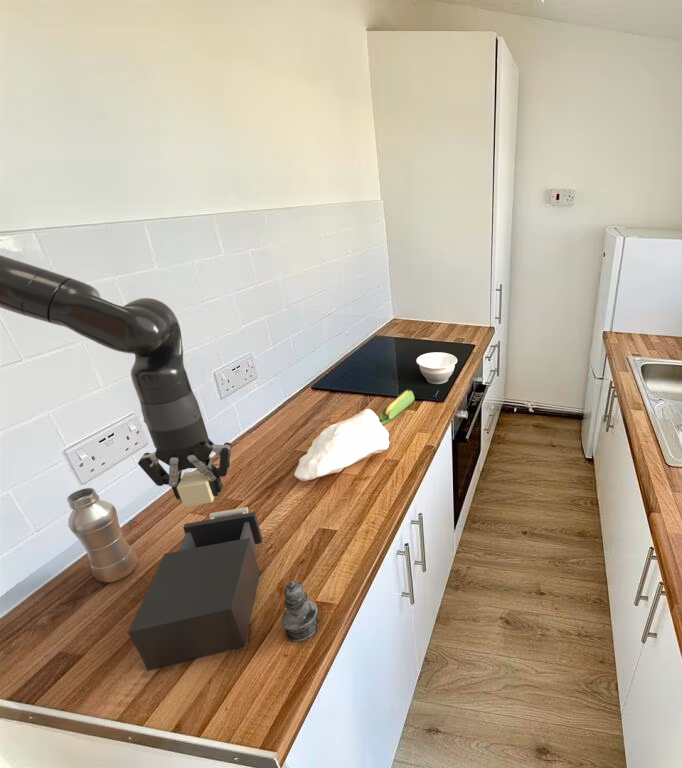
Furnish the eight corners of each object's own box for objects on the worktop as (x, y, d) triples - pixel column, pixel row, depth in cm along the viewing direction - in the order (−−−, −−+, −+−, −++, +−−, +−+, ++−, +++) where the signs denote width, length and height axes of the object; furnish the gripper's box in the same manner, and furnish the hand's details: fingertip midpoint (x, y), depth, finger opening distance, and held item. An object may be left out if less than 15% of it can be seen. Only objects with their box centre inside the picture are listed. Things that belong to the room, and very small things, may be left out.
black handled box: (179, 590, 83) (164, 553, 79) (260, 573, 88) (249, 537, 83) (148, 671, 70) (127, 632, 66) (244, 646, 74) (231, 608, 70)
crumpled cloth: (411, 427, 137) (405, 401, 134) (357, 498, 106) (347, 467, 103) (345, 427, 142) (338, 402, 139) (274, 495, 111) (262, 465, 107)
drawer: (202, 533, 95) (192, 506, 91) (266, 522, 99) (259, 495, 95) (171, 612, 78) (158, 582, 75) (250, 595, 82) (240, 565, 79)
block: (183, 507, 78) (176, 487, 76) (191, 491, 82) (184, 472, 80) (212, 502, 80) (205, 483, 78) (218, 487, 84) (212, 468, 82)
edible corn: (418, 400, 157) (417, 389, 155) (388, 427, 139) (387, 415, 137) (405, 397, 158) (404, 386, 156) (374, 424, 141) (373, 412, 139)
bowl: (449, 390, 165) (448, 370, 161) (410, 384, 168) (409, 364, 164) (462, 374, 179) (462, 355, 175) (427, 368, 182) (426, 350, 178)
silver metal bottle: (89, 581, 84) (45, 502, 75) (126, 555, 90) (90, 479, 81) (111, 591, 82) (70, 511, 73) (148, 564, 88) (114, 487, 79)
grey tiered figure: (283, 620, 79) (271, 573, 74) (318, 607, 81) (308, 562, 76) (285, 648, 74) (271, 601, 69) (321, 634, 77) (311, 588, 72)
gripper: (227, 402, 79) (248, 477, 86) (132, 412, 74) (162, 490, 82) (217, 423, 72) (240, 502, 80) (112, 435, 68) (147, 517, 75)
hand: (200, 495), depth 81 cm, fingers closed on block, 4 cm apart
